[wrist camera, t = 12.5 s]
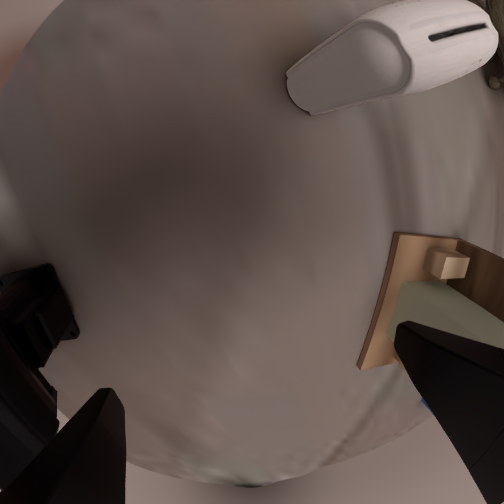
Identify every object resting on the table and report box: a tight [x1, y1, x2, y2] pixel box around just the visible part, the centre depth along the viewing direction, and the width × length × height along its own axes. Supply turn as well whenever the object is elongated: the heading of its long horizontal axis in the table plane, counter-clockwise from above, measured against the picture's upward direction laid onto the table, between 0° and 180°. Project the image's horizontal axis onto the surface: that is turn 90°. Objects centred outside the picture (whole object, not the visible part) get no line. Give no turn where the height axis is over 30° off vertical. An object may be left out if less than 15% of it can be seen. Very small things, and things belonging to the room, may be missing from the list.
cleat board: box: [357, 232, 504, 370], centre depth 21 cm, size 10×14×10 cm
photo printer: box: [286, 0, 498, 115], centre depth 12 cm, size 10×4×12 cm, turn 121°
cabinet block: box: [386, 280, 504, 349], centre depth 19 cm, size 6×6×12 cm
